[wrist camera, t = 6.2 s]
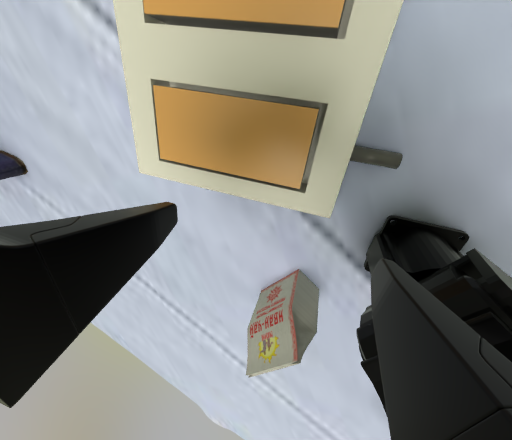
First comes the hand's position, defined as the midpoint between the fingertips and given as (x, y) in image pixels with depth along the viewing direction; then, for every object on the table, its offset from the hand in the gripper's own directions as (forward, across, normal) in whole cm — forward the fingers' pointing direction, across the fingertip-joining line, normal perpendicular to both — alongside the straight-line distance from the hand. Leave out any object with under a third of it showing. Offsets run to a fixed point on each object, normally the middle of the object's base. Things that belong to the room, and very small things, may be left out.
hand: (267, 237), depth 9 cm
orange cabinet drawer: (+12, +6, -2) cm, 13 cm away
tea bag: (+13, -2, +16) cm, 21 cm away
